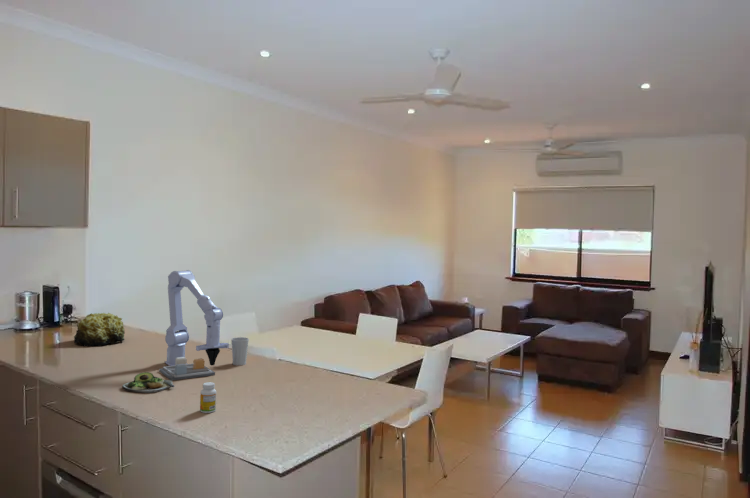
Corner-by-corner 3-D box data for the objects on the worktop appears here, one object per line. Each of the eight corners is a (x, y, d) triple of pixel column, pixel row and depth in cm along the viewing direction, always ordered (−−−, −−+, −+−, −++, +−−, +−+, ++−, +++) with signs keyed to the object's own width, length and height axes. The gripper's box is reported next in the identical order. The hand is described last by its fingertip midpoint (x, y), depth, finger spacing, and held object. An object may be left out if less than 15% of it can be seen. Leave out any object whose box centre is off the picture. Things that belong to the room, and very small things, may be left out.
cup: (243, 366, 262) (244, 341, 262) (227, 364, 264) (228, 339, 263) (250, 362, 270) (251, 338, 270) (235, 361, 271) (236, 336, 271)
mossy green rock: (109, 336, 319) (110, 308, 318) (133, 342, 304) (134, 314, 304) (64, 342, 298) (65, 313, 298) (87, 349, 284) (88, 318, 284)
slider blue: (174, 374, 238) (175, 364, 237) (184, 373, 240) (184, 363, 240) (176, 376, 235) (177, 365, 235) (186, 375, 238) (186, 364, 237)
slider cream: (175, 367, 250) (175, 357, 249) (184, 366, 252) (184, 356, 252) (177, 369, 247) (177, 358, 247) (186, 368, 250) (186, 358, 249)
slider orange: (193, 369, 248) (193, 358, 248) (201, 368, 251) (202, 358, 251) (195, 370, 246) (195, 360, 246) (204, 369, 248) (204, 359, 248)
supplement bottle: (201, 408, 200) (202, 381, 200) (217, 408, 200) (218, 381, 200) (198, 413, 194) (199, 385, 194) (214, 413, 195) (214, 385, 195)
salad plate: (186, 385, 229) (186, 374, 229) (157, 397, 212) (157, 385, 211) (147, 379, 234) (147, 368, 234) (115, 390, 217) (116, 379, 217)
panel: (159, 371, 247) (159, 366, 247) (201, 366, 258) (201, 362, 258) (171, 380, 233) (171, 376, 233) (215, 375, 244) (215, 370, 244)
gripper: (200, 337, 244) (199, 368, 244) (231, 335, 253) (230, 365, 253) (194, 335, 250) (193, 365, 250) (225, 332, 258) (224, 361, 259)
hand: (212, 364), depth 252 cm, fingers closed
